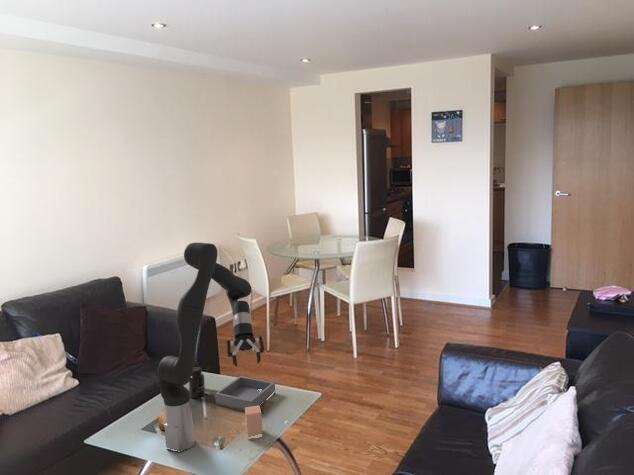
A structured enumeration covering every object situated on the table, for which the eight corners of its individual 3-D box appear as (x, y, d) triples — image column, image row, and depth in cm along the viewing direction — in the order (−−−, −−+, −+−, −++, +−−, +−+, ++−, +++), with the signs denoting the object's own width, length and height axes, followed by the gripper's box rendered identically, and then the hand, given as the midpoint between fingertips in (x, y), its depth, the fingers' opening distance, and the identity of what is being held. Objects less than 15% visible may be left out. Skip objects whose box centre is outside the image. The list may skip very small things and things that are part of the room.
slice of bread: (175, 403, 222) (174, 394, 222) (204, 413, 212) (204, 405, 212) (139, 422, 208) (138, 413, 207) (169, 434, 198) (168, 425, 197)
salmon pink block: (262, 437, 192) (261, 412, 191) (247, 439, 191) (246, 414, 190) (261, 429, 198) (259, 405, 196) (246, 432, 197) (244, 407, 195)
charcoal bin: (251, 413, 210) (251, 401, 210) (215, 404, 219) (215, 393, 218) (275, 393, 226) (274, 382, 225) (241, 386, 234) (240, 376, 233)
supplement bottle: (203, 398, 225) (201, 372, 222) (187, 399, 225) (185, 372, 223) (207, 391, 231) (205, 365, 229) (191, 391, 231) (189, 366, 229)
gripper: (224, 324, 207) (228, 363, 198) (260, 319, 209) (266, 358, 201) (225, 332, 213) (228, 370, 204) (260, 327, 216) (265, 365, 207)
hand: (247, 364), depth 202 cm, fingers open, 8 cm apart
